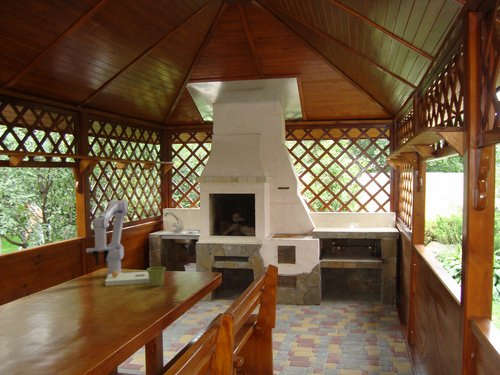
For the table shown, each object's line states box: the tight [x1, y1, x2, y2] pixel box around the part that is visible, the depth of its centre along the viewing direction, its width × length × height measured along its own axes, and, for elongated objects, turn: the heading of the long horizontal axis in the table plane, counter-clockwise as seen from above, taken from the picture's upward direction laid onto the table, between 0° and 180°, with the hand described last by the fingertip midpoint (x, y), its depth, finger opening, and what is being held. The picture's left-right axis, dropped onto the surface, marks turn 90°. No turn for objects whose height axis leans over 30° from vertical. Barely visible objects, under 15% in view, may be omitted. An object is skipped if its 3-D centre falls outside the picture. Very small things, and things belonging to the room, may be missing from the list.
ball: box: [112, 271, 118, 277], centre depth 225 cm, size 3×3×3 cm
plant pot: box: [146, 266, 166, 287], centre depth 216 cm, size 9×9×9 cm
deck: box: [104, 271, 150, 287], centre depth 226 cm, size 18×24×4 cm
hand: (101, 265), depth 223 cm, fingers open, 3 cm apart
